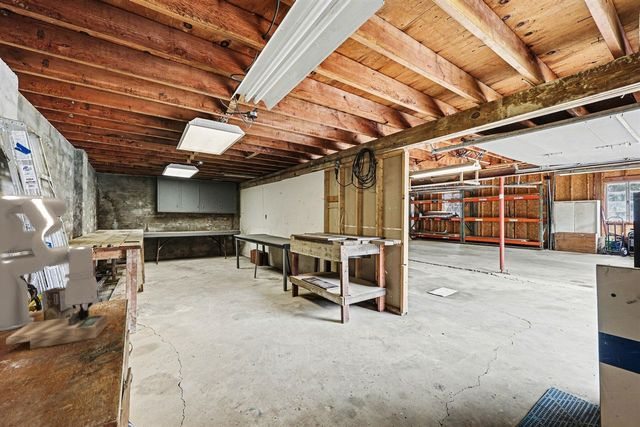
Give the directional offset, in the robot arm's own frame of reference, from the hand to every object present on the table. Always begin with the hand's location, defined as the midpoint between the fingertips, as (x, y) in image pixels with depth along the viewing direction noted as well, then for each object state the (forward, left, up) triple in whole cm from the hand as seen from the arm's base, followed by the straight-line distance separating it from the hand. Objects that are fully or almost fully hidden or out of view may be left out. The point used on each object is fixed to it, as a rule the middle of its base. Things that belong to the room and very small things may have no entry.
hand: (83, 318), depth 115 cm
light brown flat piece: (-10, 0, -3) cm, 11 cm away
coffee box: (-15, +17, -6) cm, 24 cm away
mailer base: (-4, 0, -6) cm, 7 cm away
